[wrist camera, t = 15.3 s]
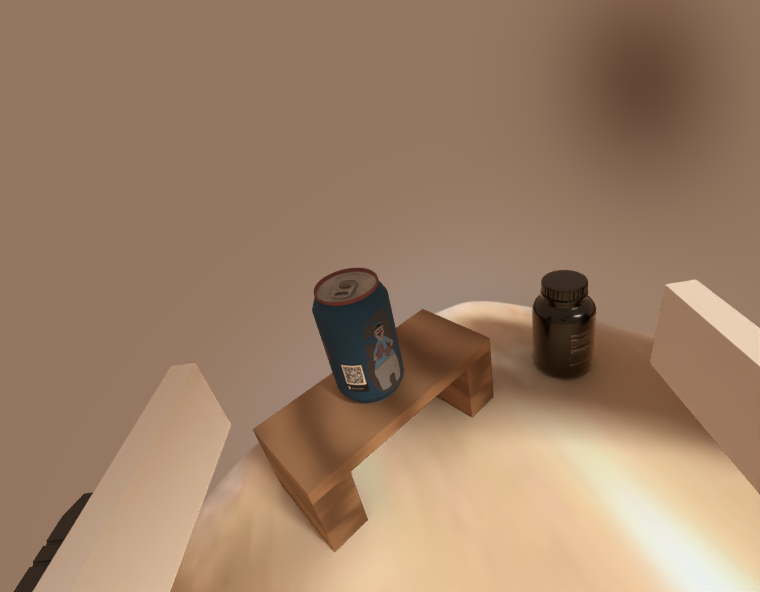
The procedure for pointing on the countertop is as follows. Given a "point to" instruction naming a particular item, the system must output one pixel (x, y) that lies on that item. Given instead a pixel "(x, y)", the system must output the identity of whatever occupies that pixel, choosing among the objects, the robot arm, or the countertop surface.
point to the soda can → (358, 334)
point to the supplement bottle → (563, 325)
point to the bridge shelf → (370, 420)
